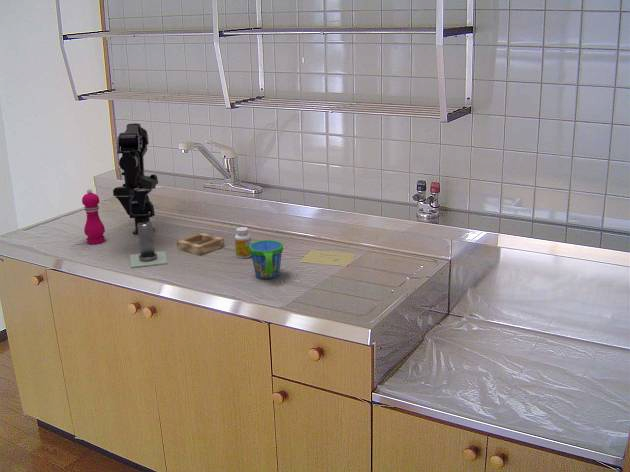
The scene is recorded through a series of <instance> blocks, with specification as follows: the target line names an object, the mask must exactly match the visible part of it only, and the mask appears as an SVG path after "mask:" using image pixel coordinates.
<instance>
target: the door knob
mask: <svg viewBox="0 0 630 472" xmlns="http://www.w3.org/2000/svg"><path fill="white" fill-rule="evenodd" d="M137 227H138V234H137V235H138V236H137V237H138V243H139V244H138V245H139V254H141V255H139V260H140V261H142V262H150V261H154V260H156V259H157V254H156V253H155V252H156V249H155V242H154V241H155V240H154V231H153V230H154V229H152V228H153V222H151V221H150V222H140V223H138V224H137Z"/></svg>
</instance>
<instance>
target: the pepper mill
mask: <svg viewBox="0 0 630 472" xmlns="http://www.w3.org/2000/svg"><path fill="white" fill-rule="evenodd" d="M81 203H82V205H83V206H84V212H85V213H86V222H85V225H84V234H85V236H86V241H87V244H89V245H100V244H103V243H104V242H105V241H106V239H105V235H104V234H105V232H106V229H105V226H104V223H103V222H102V220H101V218H100V215H99V211H100V207H99V203H100V197H99V196H98V194H96V193H94V192H93V190H92V189H91V188H90V189H89V188H88V189H87V190H86V194H84V195H83V196H82V199H81Z"/></svg>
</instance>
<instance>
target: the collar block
mask: <svg viewBox="0 0 630 472" xmlns="http://www.w3.org/2000/svg"><path fill="white" fill-rule="evenodd" d="M223 247H225V238H224V237H219V236H216V235H213V234H210V233H209V234H208V233H205V232H199V233H196V234H192V235H190V236H187V237H184V238H182V239H179V240H176V250H179V251H182V252H186V253H189V254H194V255H196V256H199V257H200V256H203V255H205V254H208V253H211V252H213V251H216V250H218V249H221V248H223Z"/></svg>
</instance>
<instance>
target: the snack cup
mask: <svg viewBox="0 0 630 472" xmlns="http://www.w3.org/2000/svg"><path fill="white" fill-rule="evenodd" d="M249 251H250V253H251V260H252V265H253V269H254V275H255V276H256V277H257V278H258V279H263V280H271V279H274V278H277V277H279V275H280V270H281V261H282V253H283V251H284V244H283V243H282V242H281V241H278V240H274V239H273V240H272V239H266V240H265V239H264V240H258V241H254V242H251V245H250V246H249Z"/></svg>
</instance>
